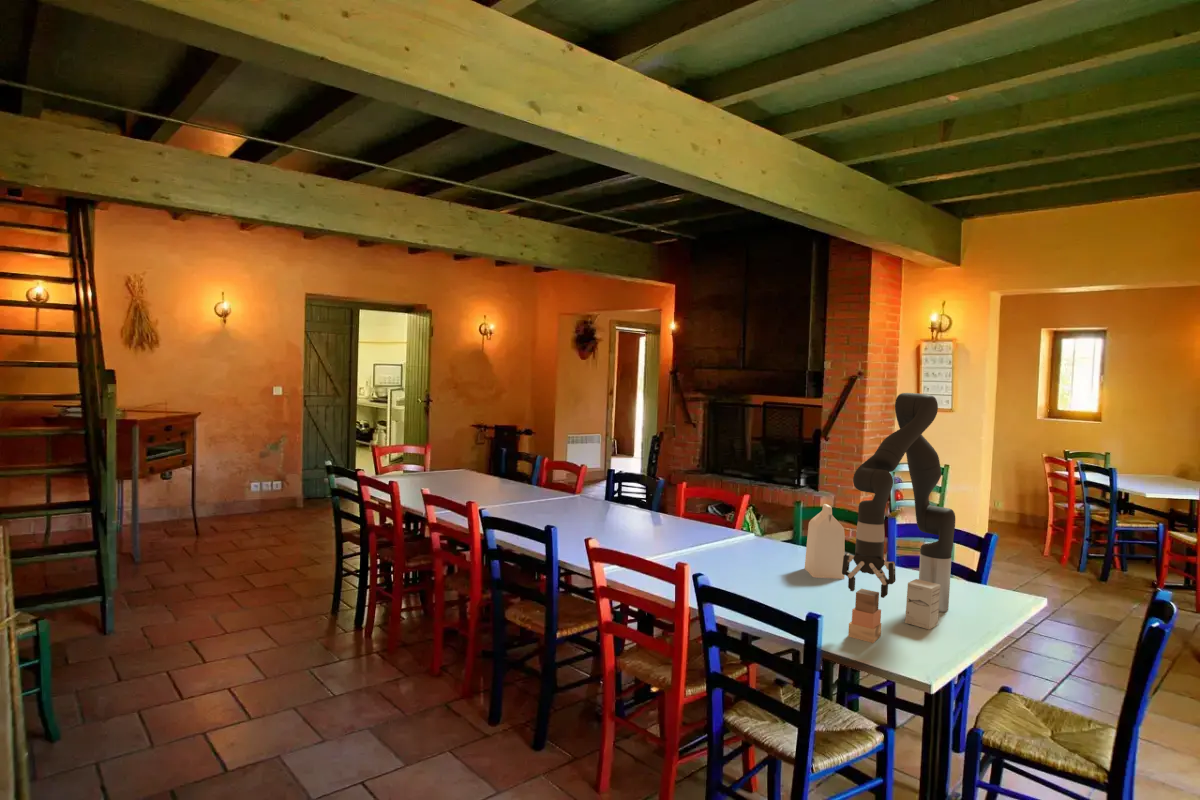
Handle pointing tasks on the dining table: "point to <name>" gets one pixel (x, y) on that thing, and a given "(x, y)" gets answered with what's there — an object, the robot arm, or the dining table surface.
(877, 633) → the tower base
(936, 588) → the supplement box
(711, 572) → the dining table surface
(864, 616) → the tower
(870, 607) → the walnut cube
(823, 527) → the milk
